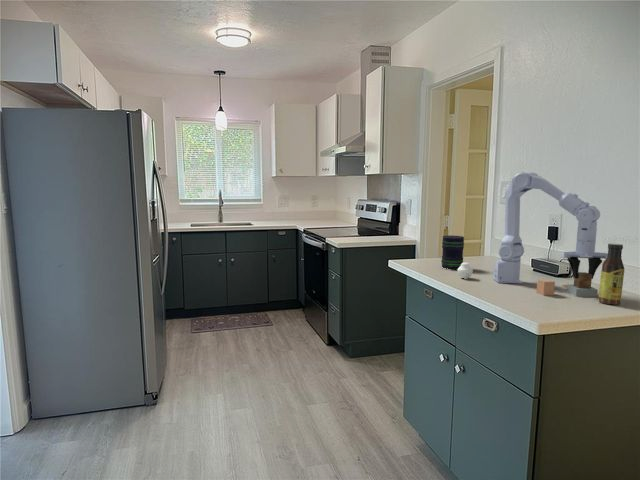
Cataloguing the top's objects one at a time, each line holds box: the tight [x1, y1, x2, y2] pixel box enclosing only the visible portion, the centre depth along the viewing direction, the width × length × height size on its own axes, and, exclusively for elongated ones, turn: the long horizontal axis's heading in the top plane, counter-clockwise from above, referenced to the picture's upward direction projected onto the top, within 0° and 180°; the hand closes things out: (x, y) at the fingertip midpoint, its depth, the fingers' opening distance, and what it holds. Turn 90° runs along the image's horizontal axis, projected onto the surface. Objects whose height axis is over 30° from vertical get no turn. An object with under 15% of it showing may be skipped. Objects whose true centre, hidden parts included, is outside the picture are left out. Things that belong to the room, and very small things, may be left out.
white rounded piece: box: [457, 261, 474, 280], centre depth 177 cm, size 6×6×7 cm
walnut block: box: [573, 271, 593, 289], centre depth 151 cm, size 4×4×5 cm
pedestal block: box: [566, 283, 599, 298], centre depth 152 cm, size 7×7×3 cm
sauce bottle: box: [598, 243, 625, 306], centre depth 139 cm, size 6×6×20 cm
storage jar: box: [440, 235, 465, 269], centre depth 198 cm, size 10×10×15 cm
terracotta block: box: [536, 278, 556, 297], centre depth 151 cm, size 4×4×5 cm
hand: (582, 278), depth 151 cm, fingers open, 4 cm apart
